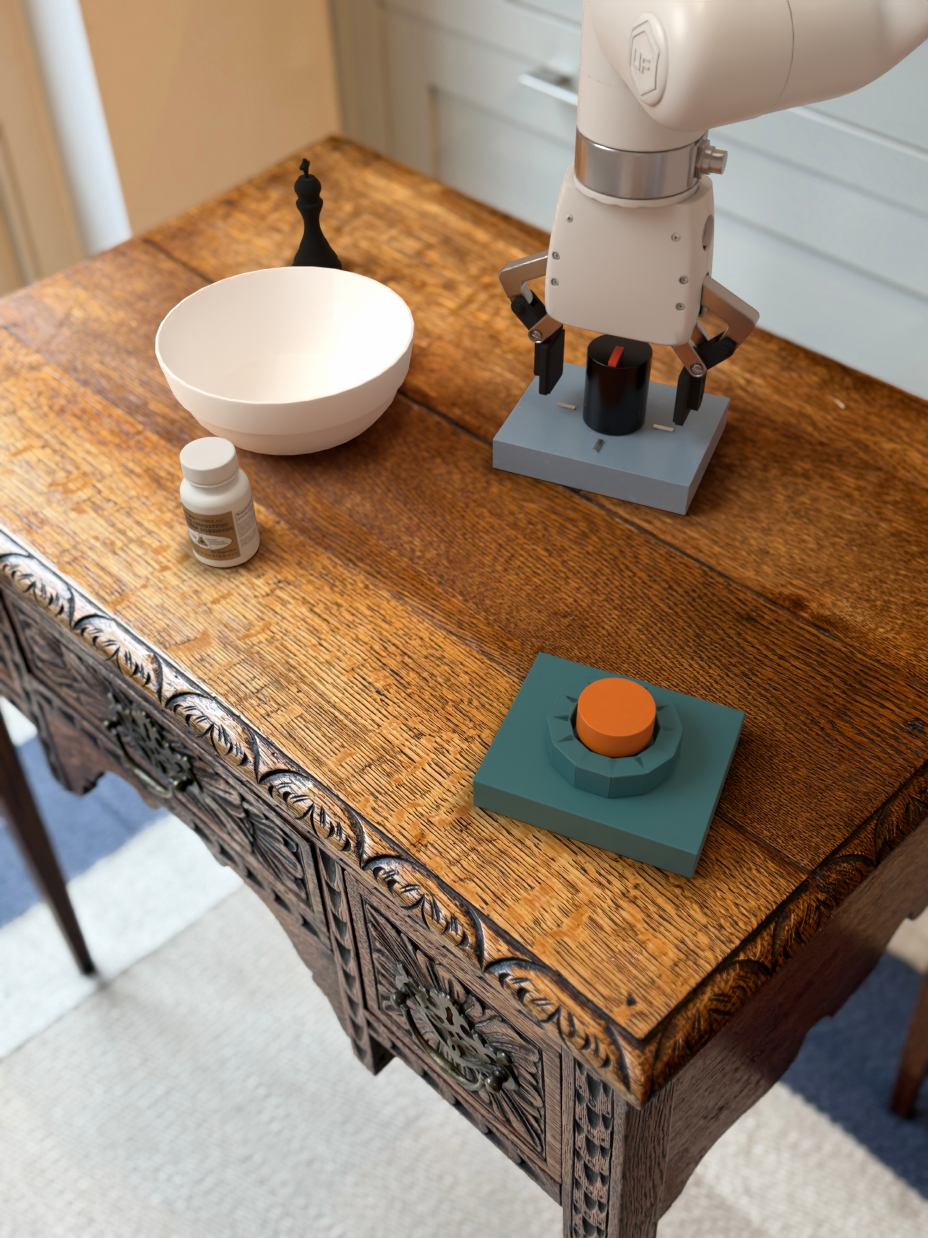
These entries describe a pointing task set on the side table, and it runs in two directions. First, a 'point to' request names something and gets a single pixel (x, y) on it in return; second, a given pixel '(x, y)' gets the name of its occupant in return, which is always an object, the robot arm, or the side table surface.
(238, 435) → the bowl
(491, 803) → the button block
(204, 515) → the pill bottle
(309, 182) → the chess piece
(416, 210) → the side table surface
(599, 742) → the button
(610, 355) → the dial knob
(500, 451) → the dial base
